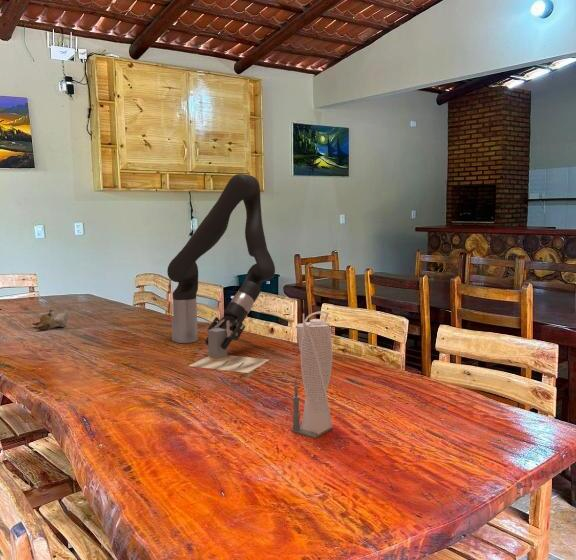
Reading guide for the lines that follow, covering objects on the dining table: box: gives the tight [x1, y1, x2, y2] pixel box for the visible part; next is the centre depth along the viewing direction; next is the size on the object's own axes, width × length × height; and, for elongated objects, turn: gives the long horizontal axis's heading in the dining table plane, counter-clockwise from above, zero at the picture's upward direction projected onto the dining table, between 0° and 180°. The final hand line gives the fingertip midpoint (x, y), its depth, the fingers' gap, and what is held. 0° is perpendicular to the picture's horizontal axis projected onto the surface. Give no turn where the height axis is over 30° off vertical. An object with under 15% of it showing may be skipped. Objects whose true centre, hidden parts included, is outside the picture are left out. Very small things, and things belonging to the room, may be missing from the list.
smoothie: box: [295, 313, 305, 353], centre depth 198 cm, size 6×6×14 cm
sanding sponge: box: [207, 327, 228, 361], centre depth 184 cm, size 4×4×10 cm
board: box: [188, 354, 270, 379], centre depth 179 cm, size 22×16×2 cm
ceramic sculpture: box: [32, 309, 69, 330], centre depth 242 cm, size 11×9×15 cm
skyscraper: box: [290, 310, 333, 439], centre depth 126 cm, size 8×8×28 cm
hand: (214, 346), depth 183 cm, fingers open, 7 cm apart
